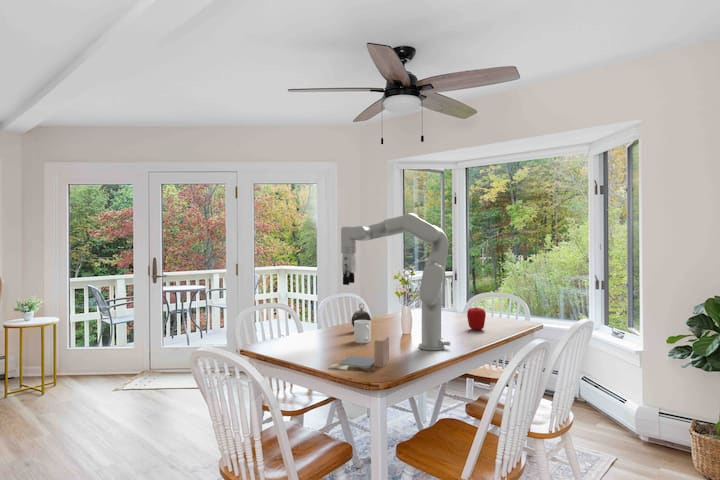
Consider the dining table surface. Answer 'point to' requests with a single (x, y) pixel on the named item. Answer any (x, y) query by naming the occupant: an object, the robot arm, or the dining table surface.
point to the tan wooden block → (381, 351)
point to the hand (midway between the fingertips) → (348, 283)
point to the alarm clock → (360, 315)
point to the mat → (358, 361)
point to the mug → (362, 331)
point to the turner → (350, 367)
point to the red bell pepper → (476, 318)
